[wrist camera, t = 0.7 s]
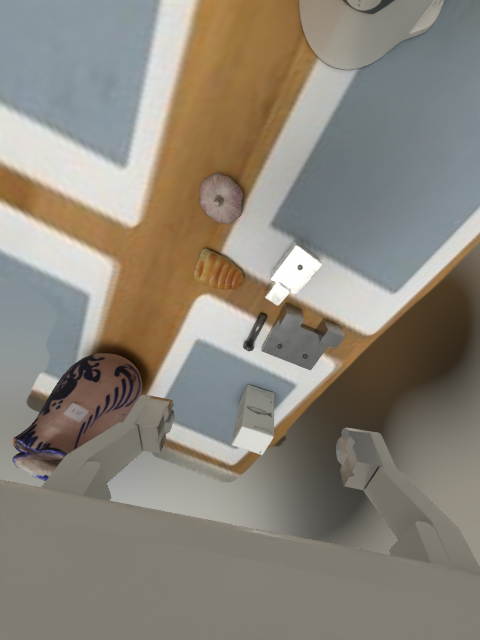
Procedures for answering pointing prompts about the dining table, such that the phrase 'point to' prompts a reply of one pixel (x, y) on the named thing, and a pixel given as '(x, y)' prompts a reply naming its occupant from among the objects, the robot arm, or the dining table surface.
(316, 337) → the gunmetal leaf
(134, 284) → the dining table surface
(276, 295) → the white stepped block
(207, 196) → the garlic bulb
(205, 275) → the pastry
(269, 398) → the supplement box
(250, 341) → the hinge pin
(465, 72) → the dining table surface
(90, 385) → the ceramic pitcher
